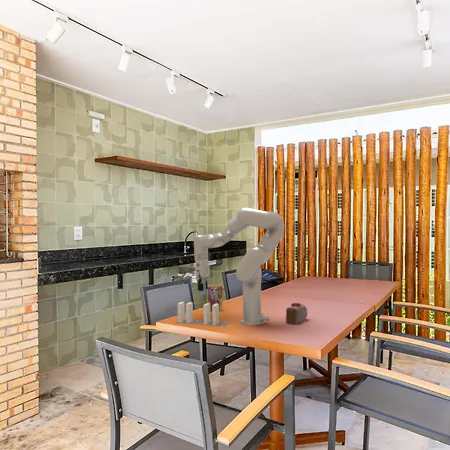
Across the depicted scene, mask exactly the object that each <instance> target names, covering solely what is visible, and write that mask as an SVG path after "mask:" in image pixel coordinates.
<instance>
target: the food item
mask: <svg viewBox="0 0 450 450" xmlns="http://www.w3.org/2000/svg"><path fill="white" fill-rule="evenodd" d="M285 313H286V314H285V322H286V324H288V325H294V326H295V325H298V324H299V323H303V322H304V321H305V320H306V319H307V317H308V308H307V307H306V305H304V304H302V303H300V302H299V303H298V302H293V303H291V305H290V306H289V307H287V308H286V310H285Z"/></svg>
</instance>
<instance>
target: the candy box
mask: <svg viewBox="0 0 450 450" xmlns="http://www.w3.org/2000/svg"><path fill="white" fill-rule="evenodd" d="M206 291H207V303H210V312H212V305H214V304H219V312H220V311H221V312H223V311H224V304H223V303H224V302H223V285H222V284H208V289H206Z"/></svg>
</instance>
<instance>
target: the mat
mask: <svg viewBox="0 0 450 450" xmlns="http://www.w3.org/2000/svg"><path fill="white" fill-rule="evenodd" d="M175 323H176V324H177V323H178V324H187V325H189V324H191V325H203V326H216V327H227V326H228V325H230V324H231V323H230V322H225V321H223V322H222V321H219V323H218V324H217V325H213V321H211V320H210V323H208V324H207V325H205V324H204V320H196V319H195V320H194V319H193V321H192V322H191V323H186V319H185V321H183V322H181V323H179V322H178V321H176V322H175Z"/></svg>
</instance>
